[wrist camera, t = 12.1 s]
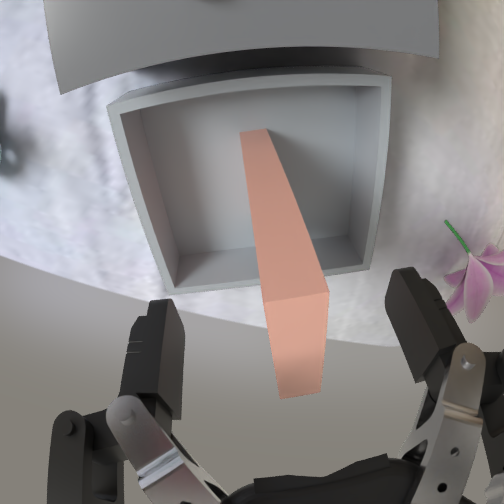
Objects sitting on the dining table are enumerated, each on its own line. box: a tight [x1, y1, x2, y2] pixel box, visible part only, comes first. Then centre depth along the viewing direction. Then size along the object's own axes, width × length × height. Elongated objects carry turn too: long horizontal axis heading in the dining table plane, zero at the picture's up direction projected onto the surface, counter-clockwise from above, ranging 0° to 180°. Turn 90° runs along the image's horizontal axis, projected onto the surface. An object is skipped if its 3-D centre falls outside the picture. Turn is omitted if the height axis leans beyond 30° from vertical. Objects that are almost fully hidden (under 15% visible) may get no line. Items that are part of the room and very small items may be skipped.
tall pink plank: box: [239, 128, 329, 399], centre depth 14 cm, size 2×6×13 cm, turn 8°
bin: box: [106, 66, 392, 295], centre depth 18 cm, size 14×13×4 cm
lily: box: [444, 220, 504, 323], centre depth 22 cm, size 12×12×10 cm
